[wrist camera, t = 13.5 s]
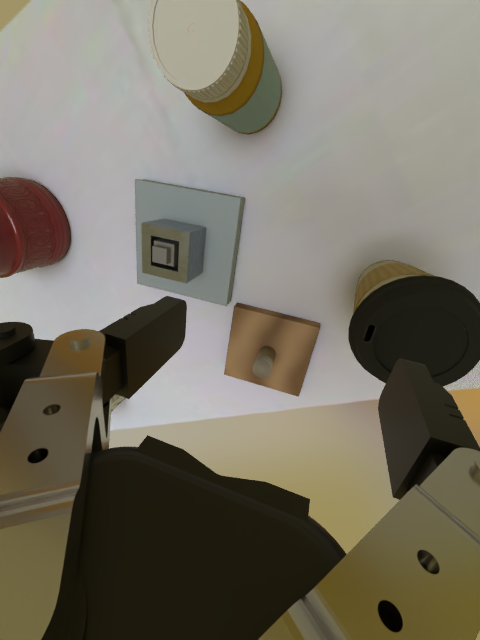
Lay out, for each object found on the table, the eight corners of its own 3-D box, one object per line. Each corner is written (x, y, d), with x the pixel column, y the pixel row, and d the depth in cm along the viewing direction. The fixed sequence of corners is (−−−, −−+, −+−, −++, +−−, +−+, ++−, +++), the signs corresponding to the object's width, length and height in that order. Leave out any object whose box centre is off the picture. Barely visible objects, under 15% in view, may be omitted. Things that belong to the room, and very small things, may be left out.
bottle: (214, 64, 30) (128, -28, 17) (279, 45, 28) (238, -78, 15) (224, 140, 33) (156, 109, 20) (284, 127, 31) (252, 83, 18)
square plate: (245, 197, 35) (224, 200, 28) (230, 301, 41) (210, 324, 34) (143, 179, 38) (101, 178, 31) (144, 279, 44) (110, 297, 37)
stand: (320, 323, 39) (318, 344, 34) (299, 390, 45) (295, 417, 39) (237, 302, 41) (223, 319, 36) (227, 369, 47) (214, 391, 41)
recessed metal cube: (206, 227, 36) (189, 232, 31) (202, 272, 39) (186, 283, 34) (163, 218, 37) (141, 222, 33) (162, 263, 40) (142, 272, 35)
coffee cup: (412, 330, 36) (459, 411, 23) (333, 312, 38) (335, 378, 25) (447, 253, 32) (530, 300, 19) (355, 237, 34) (373, 270, 20)
